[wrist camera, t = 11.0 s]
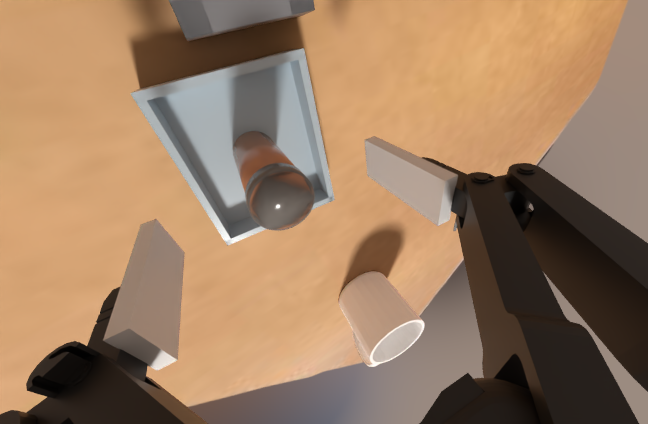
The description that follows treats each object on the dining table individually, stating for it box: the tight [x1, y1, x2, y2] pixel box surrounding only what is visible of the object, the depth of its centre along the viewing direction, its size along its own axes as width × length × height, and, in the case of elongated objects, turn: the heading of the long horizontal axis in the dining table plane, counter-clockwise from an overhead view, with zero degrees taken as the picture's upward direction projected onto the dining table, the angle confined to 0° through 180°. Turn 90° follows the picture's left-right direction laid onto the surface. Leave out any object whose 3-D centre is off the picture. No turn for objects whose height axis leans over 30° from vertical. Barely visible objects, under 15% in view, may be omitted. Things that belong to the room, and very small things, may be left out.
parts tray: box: [130, 48, 335, 245], centre depth 21 cm, size 14×12×3 cm
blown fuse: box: [233, 131, 315, 230], centre depth 18 cm, size 4×4×10 cm
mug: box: [339, 271, 424, 367], centre depth 40 cm, size 13×10×10 cm
